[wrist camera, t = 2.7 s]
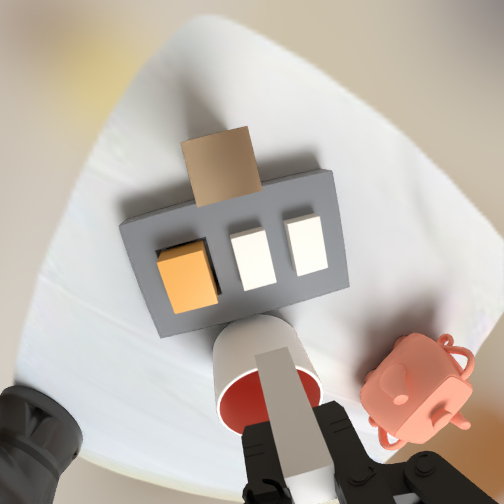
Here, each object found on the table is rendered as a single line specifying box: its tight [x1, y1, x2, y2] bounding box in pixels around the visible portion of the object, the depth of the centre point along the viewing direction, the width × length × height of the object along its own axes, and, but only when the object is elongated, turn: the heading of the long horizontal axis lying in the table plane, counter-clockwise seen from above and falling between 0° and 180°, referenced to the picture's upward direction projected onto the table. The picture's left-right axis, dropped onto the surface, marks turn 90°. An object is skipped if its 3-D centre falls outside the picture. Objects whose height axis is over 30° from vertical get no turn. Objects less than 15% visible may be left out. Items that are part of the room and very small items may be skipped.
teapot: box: [360, 332, 475, 450], centre depth 35 cm, size 15×17×13 cm
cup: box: [212, 315, 323, 436], centre depth 32 cm, size 10×10×10 cm
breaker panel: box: [119, 169, 350, 338], centre depth 30 cm, size 20×12×4 cm, turn 103°
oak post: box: [181, 126, 263, 208], centre depth 24 cm, size 4×4×12 cm
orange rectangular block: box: [157, 240, 218, 314], centre depth 29 cm, size 4×5×3 cm
